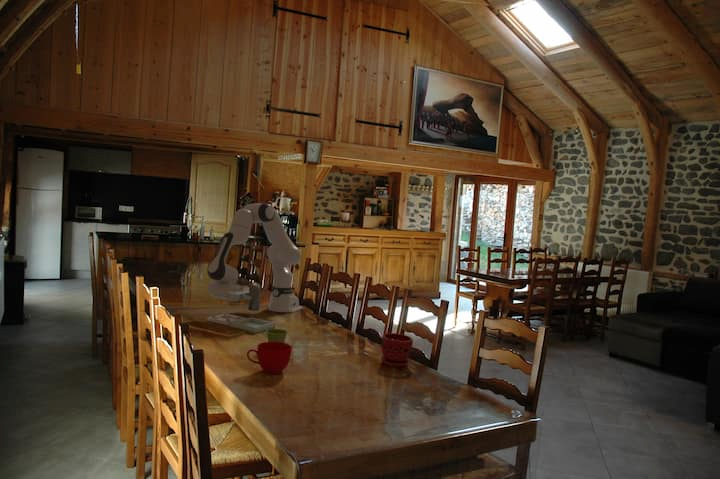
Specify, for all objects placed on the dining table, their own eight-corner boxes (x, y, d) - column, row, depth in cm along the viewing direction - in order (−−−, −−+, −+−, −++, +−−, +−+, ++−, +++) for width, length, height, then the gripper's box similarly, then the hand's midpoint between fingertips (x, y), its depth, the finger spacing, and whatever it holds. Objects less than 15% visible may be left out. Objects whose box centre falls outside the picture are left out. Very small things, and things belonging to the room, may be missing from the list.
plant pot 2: (385, 369, 224) (387, 340, 223) (376, 359, 237) (378, 332, 236) (415, 368, 228) (417, 340, 227) (404, 359, 240) (406, 332, 239)
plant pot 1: (284, 354, 233) (285, 334, 233) (262, 353, 233) (264, 333, 233) (287, 349, 243) (289, 329, 242) (266, 347, 243) (268, 328, 242)
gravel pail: (252, 308, 278) (254, 282, 278) (261, 309, 276) (263, 283, 275) (245, 309, 274) (247, 283, 273) (254, 311, 271) (256, 284, 270)
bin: (250, 323, 286) (250, 317, 286) (274, 328, 279) (275, 322, 279) (229, 328, 272) (230, 322, 272) (255, 333, 265) (255, 327, 264)
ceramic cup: (243, 367, 212) (244, 342, 211) (285, 365, 218) (287, 341, 217) (248, 378, 200) (250, 351, 199) (293, 376, 206) (295, 350, 205)
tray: (225, 318, 293) (226, 312, 292) (246, 322, 286) (246, 316, 286) (207, 322, 280) (207, 315, 280) (227, 327, 274) (228, 320, 274)
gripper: (220, 288, 271) (242, 292, 264) (247, 285, 289) (268, 288, 283) (220, 301, 271) (241, 305, 265) (246, 296, 289) (267, 300, 283)
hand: (255, 296), depth 274 cm, fingers closed on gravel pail, 5 cm apart
